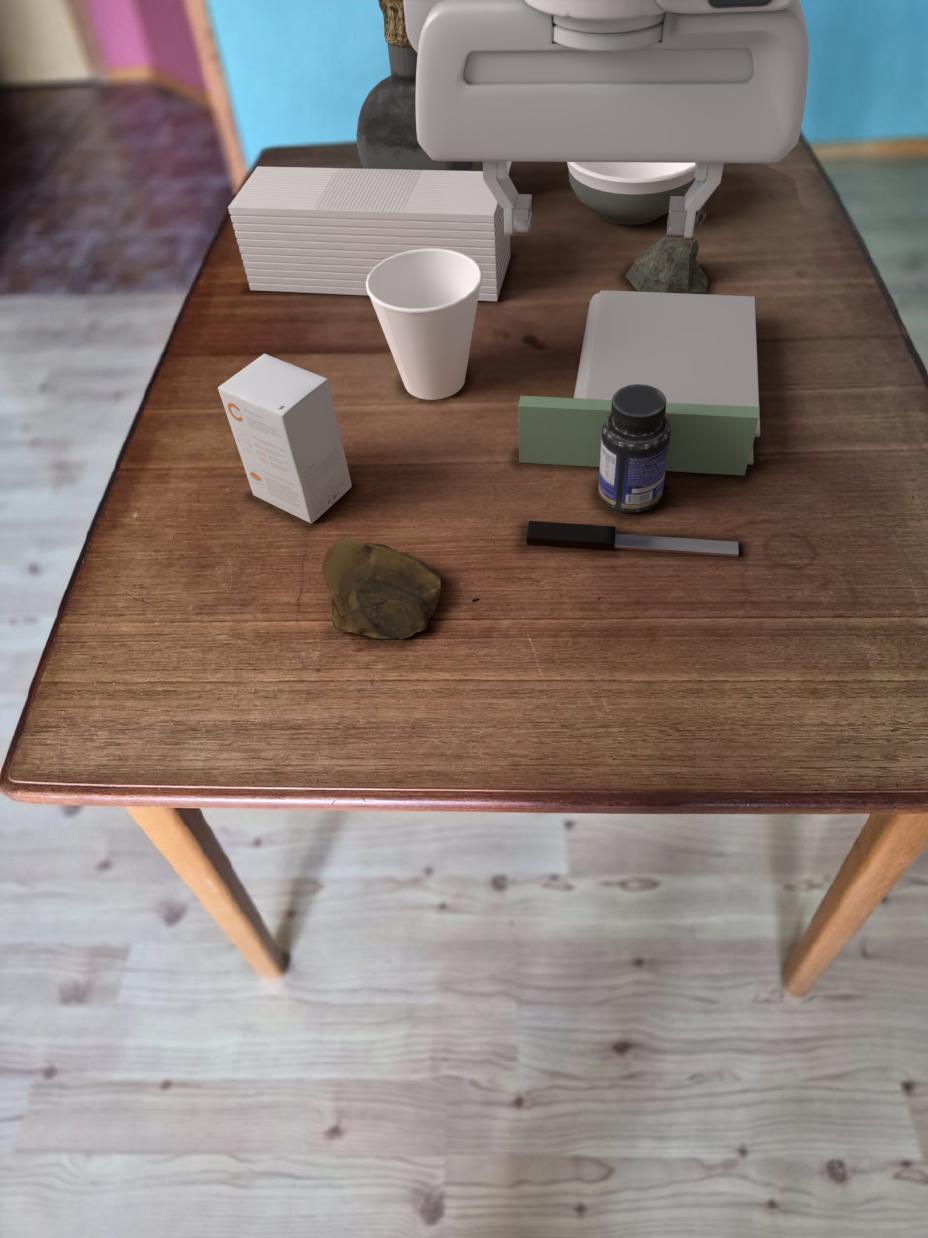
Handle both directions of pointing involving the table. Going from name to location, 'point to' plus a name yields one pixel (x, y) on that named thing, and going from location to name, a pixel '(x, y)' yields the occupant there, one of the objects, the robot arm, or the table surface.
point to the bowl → (630, 188)
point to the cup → (427, 316)
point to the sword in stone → (670, 266)
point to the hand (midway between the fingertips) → (597, 232)
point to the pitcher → (395, 108)
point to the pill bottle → (634, 449)
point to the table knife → (620, 540)
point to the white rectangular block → (672, 348)
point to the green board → (695, 444)
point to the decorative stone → (378, 590)
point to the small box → (287, 436)
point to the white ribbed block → (362, 225)
